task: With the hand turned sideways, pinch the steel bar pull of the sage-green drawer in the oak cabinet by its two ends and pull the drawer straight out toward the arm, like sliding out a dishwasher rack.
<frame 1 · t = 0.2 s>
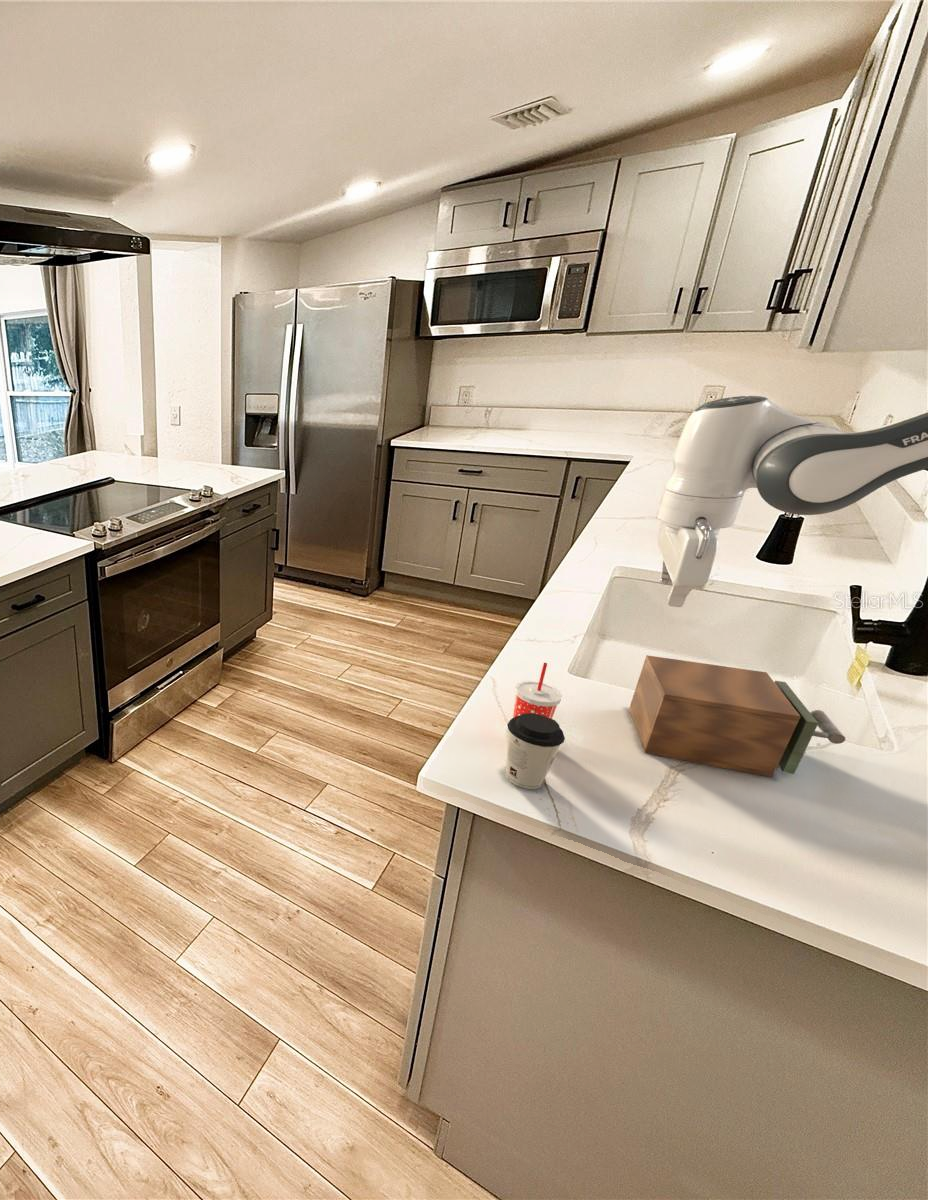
hand: (669, 593, 97), 21 cm above the worktop, tool pointing down, fingers open, 8 cm apart
cabinet: (694, 740, 96), on the worktop
drawer: (748, 719, 91), point 5 cm above the worktop, slide at 1.0 cm
beverage cup: (526, 739, 99), on the worktop
coffee cup: (523, 779, 91), on the worktop
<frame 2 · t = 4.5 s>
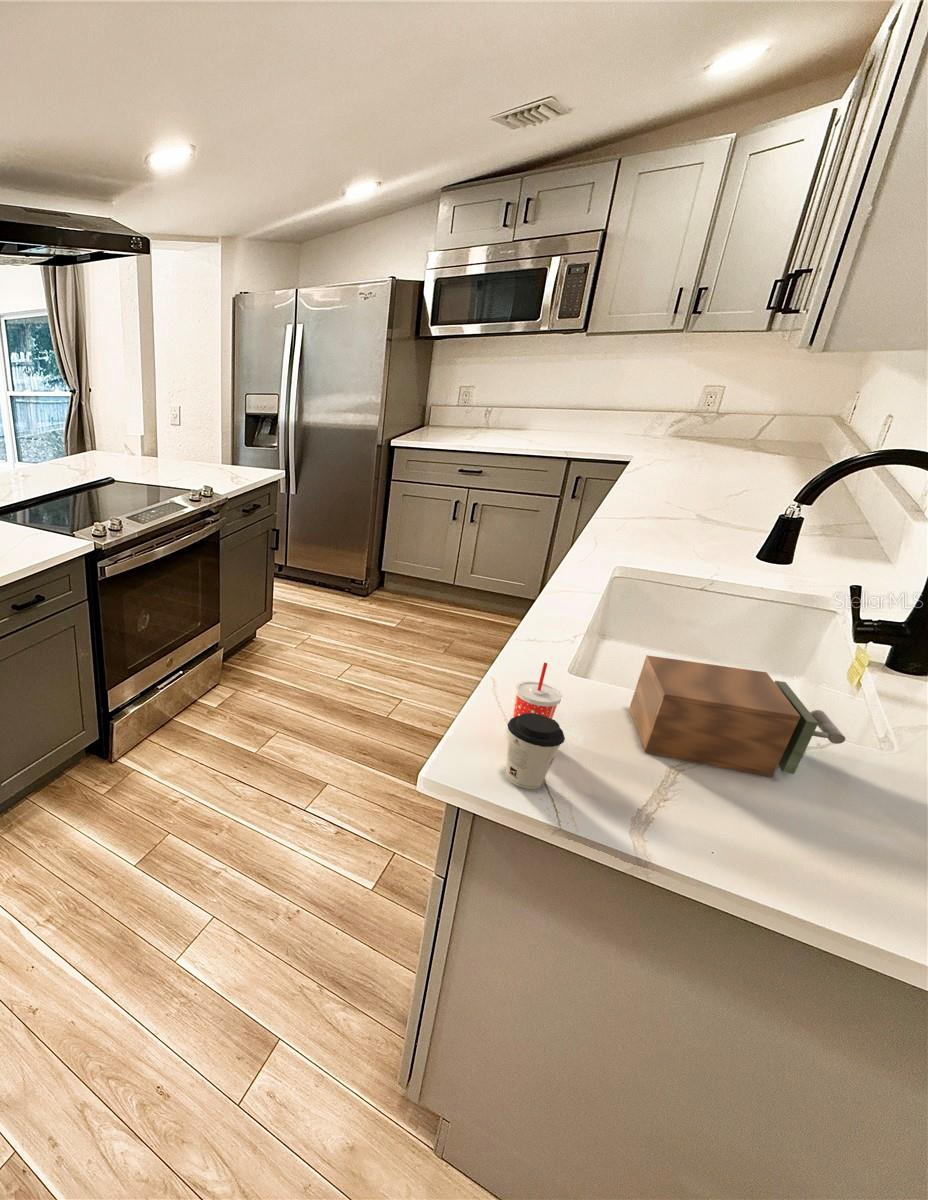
nothing on the worktop moved.
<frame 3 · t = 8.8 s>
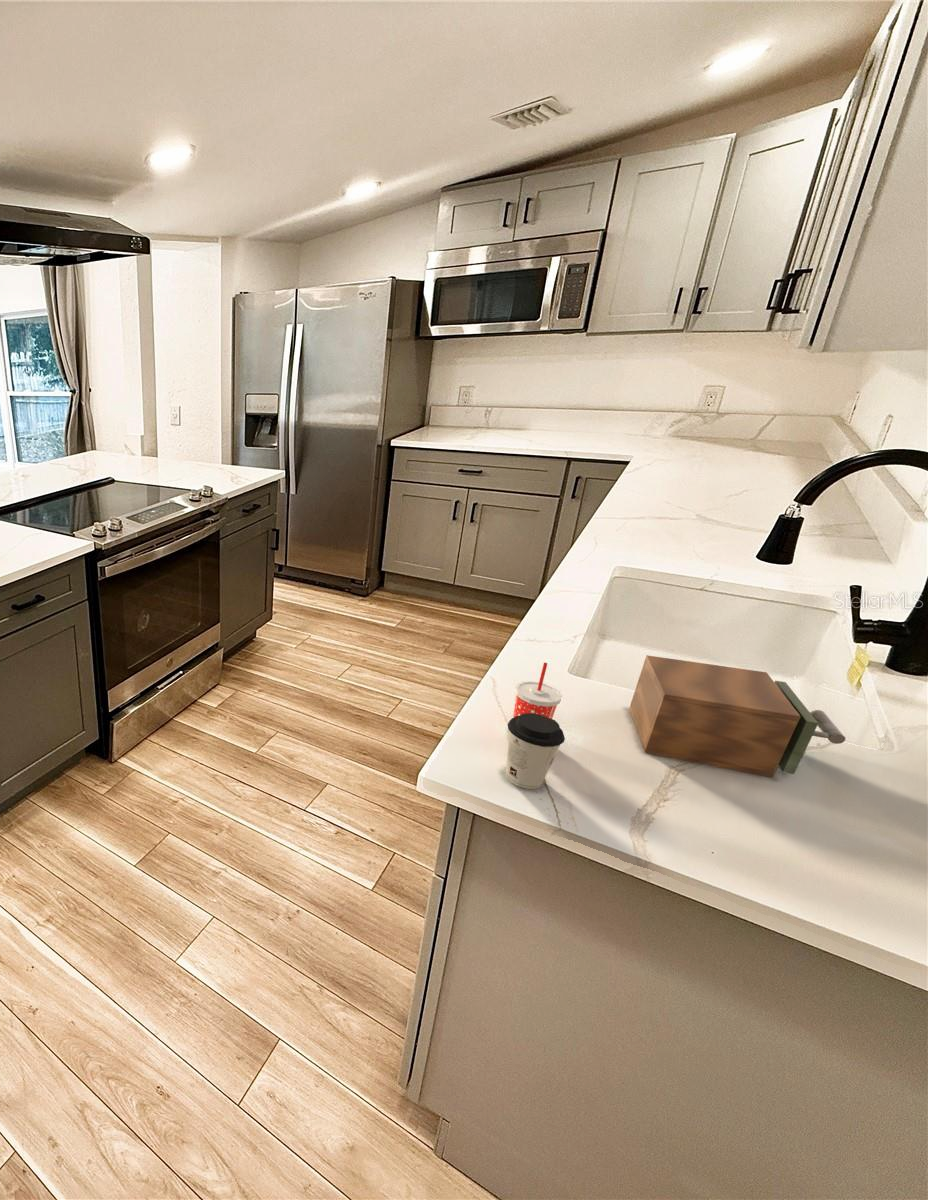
nothing on the worktop moved.
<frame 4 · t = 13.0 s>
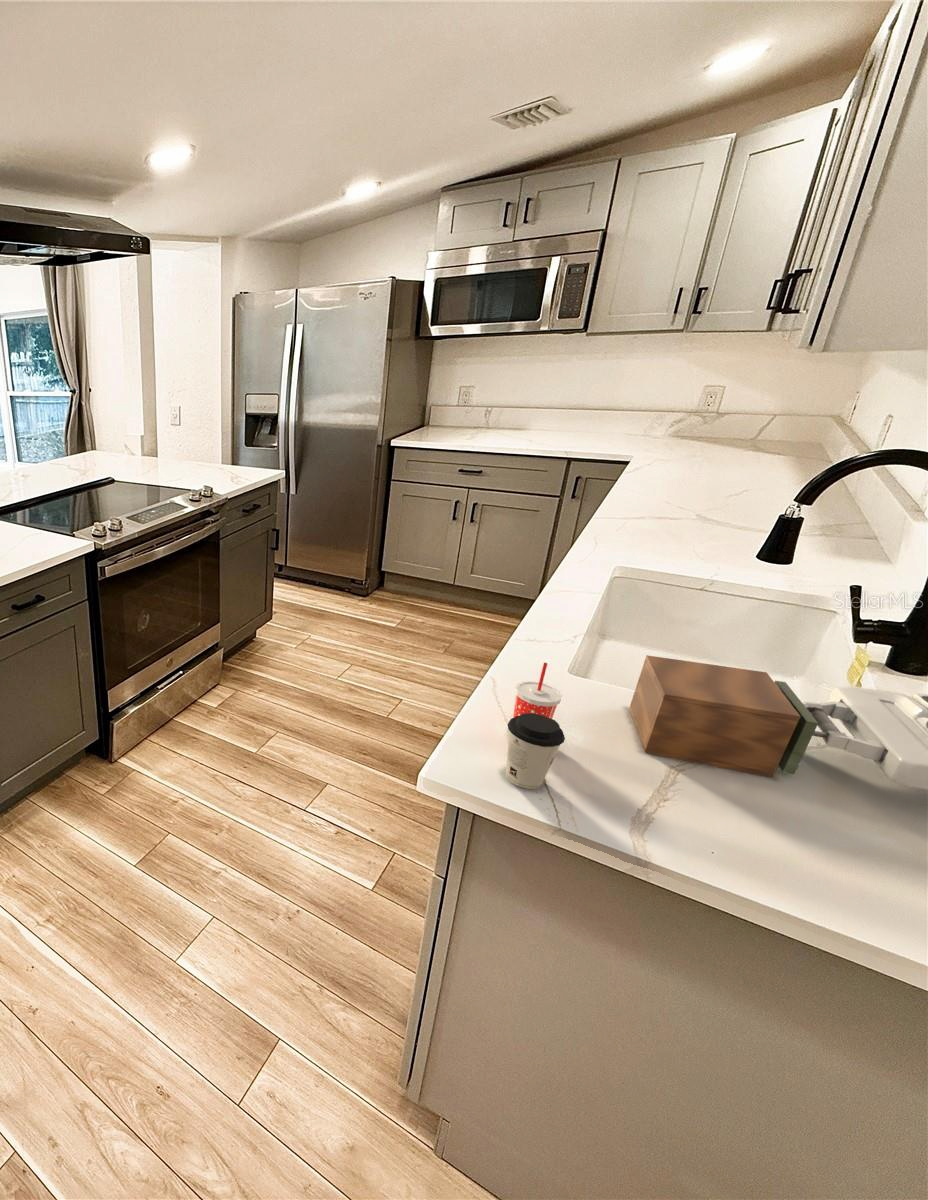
hand: (813, 722, 88), 7 cm above the worktop, tool horizontal, fingers closed on drawer, 6 cm apart
drawer: (748, 719, 91), point 5 cm above the worktop, slide at 1.0 cm, touching gripper
everything else where it was.
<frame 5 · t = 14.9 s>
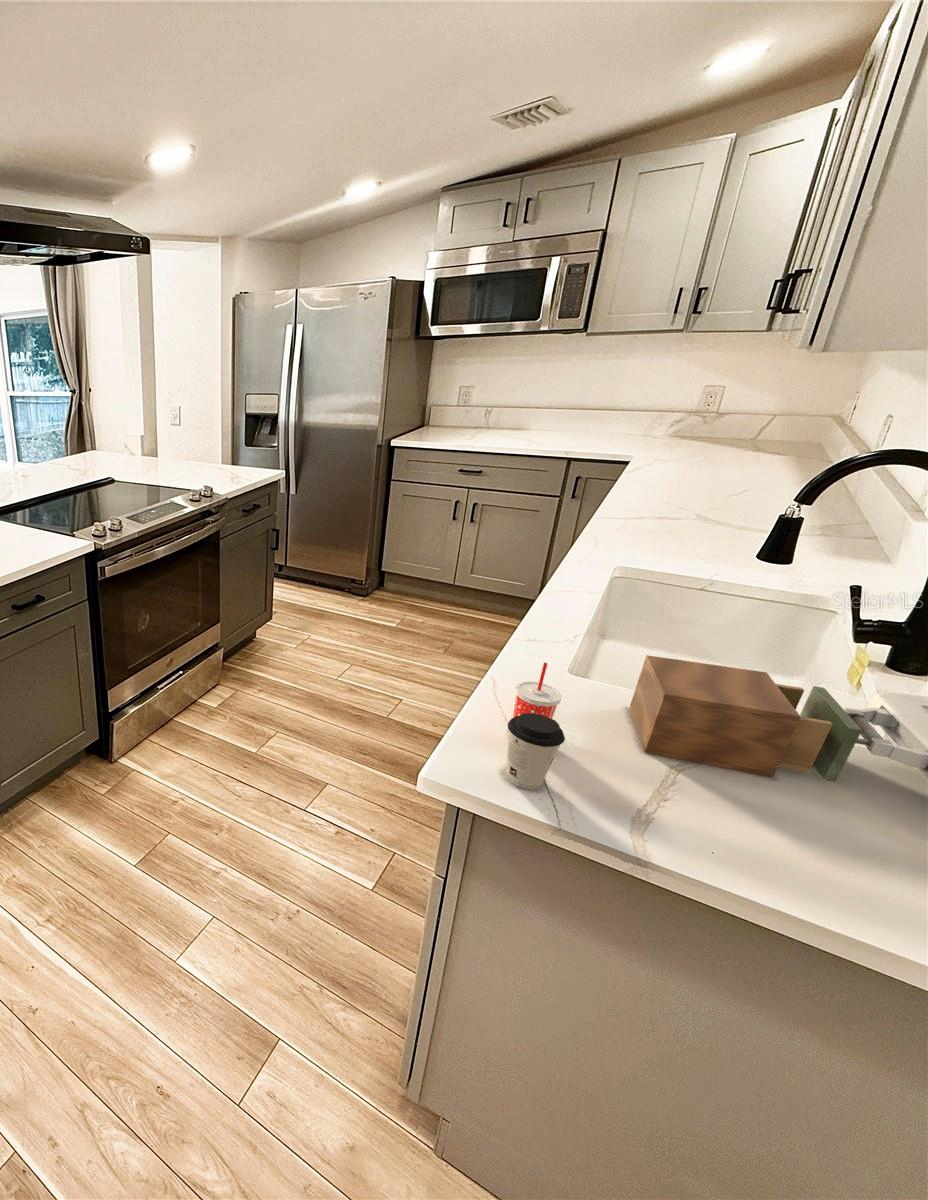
hand: (855, 729, 86), 7 cm above the worktop, tool horizontal, fingers closed on drawer, 6 cm apart
drawer: (786, 726, 90), point 5 cm above the worktop, slide at 5.2 cm, touching gripper
everything else where it was.
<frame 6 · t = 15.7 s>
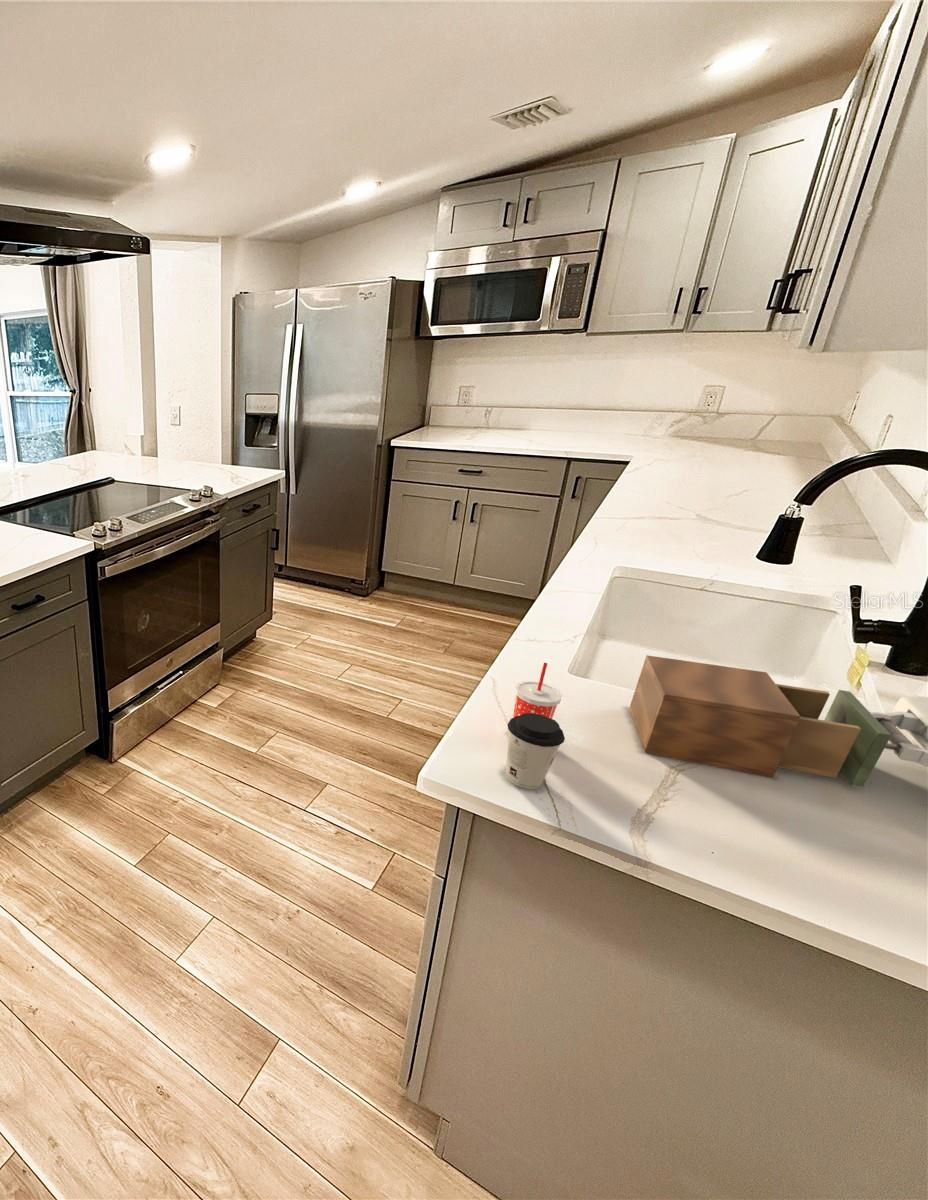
hand: (882, 733, 85), 7 cm above the worktop, tool horizontal, fingers closed on drawer, 6 cm apart
drawer: (812, 730, 88), point 5 cm above the worktop, slide at 7.9 cm, touching gripper
everything else where it was.
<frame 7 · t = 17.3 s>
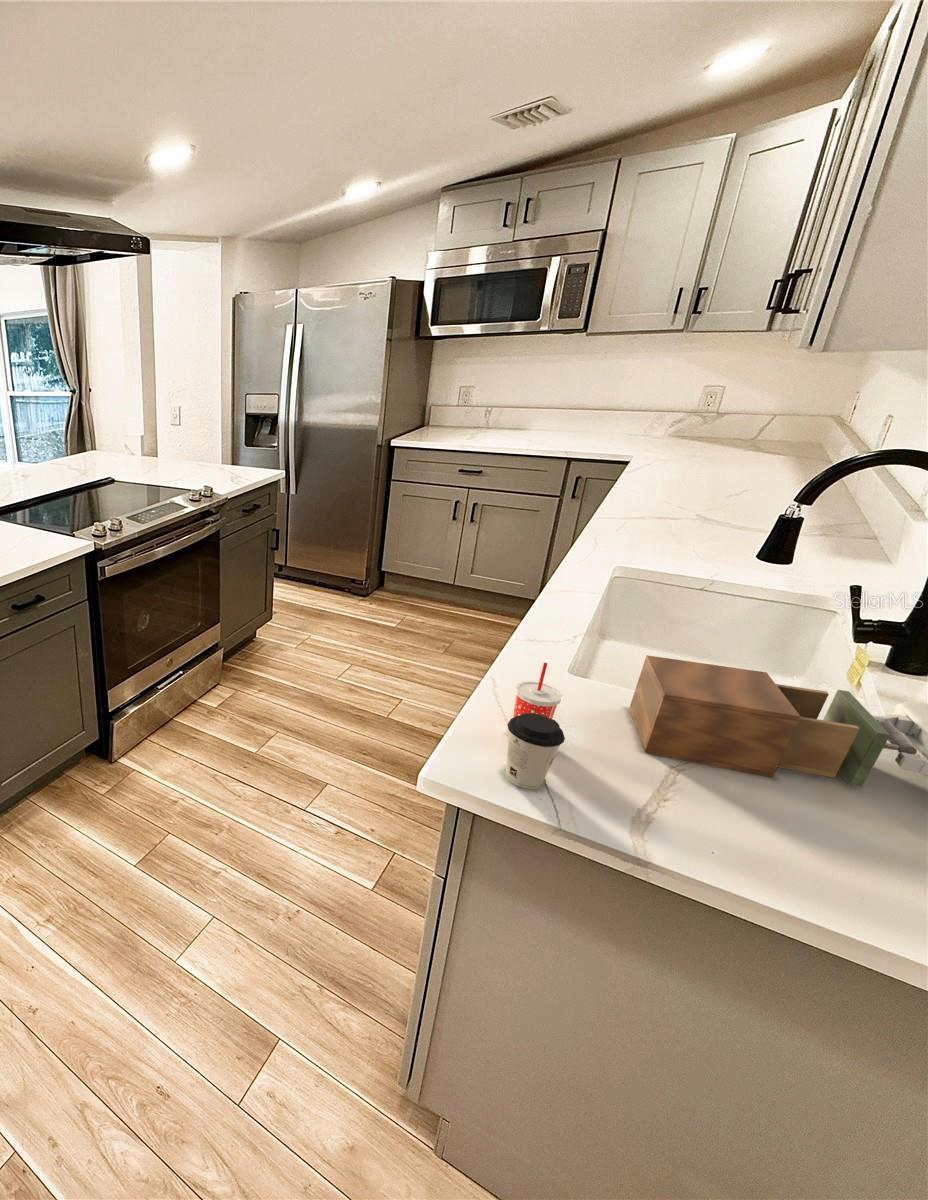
hand: (880, 739, 85), 6 cm above the worktop, tool horizontal, fingers open, 8 cm apart
drawer: (810, 730, 88), point 5 cm above the worktop, slide at 7.8 cm
everything else where it was.
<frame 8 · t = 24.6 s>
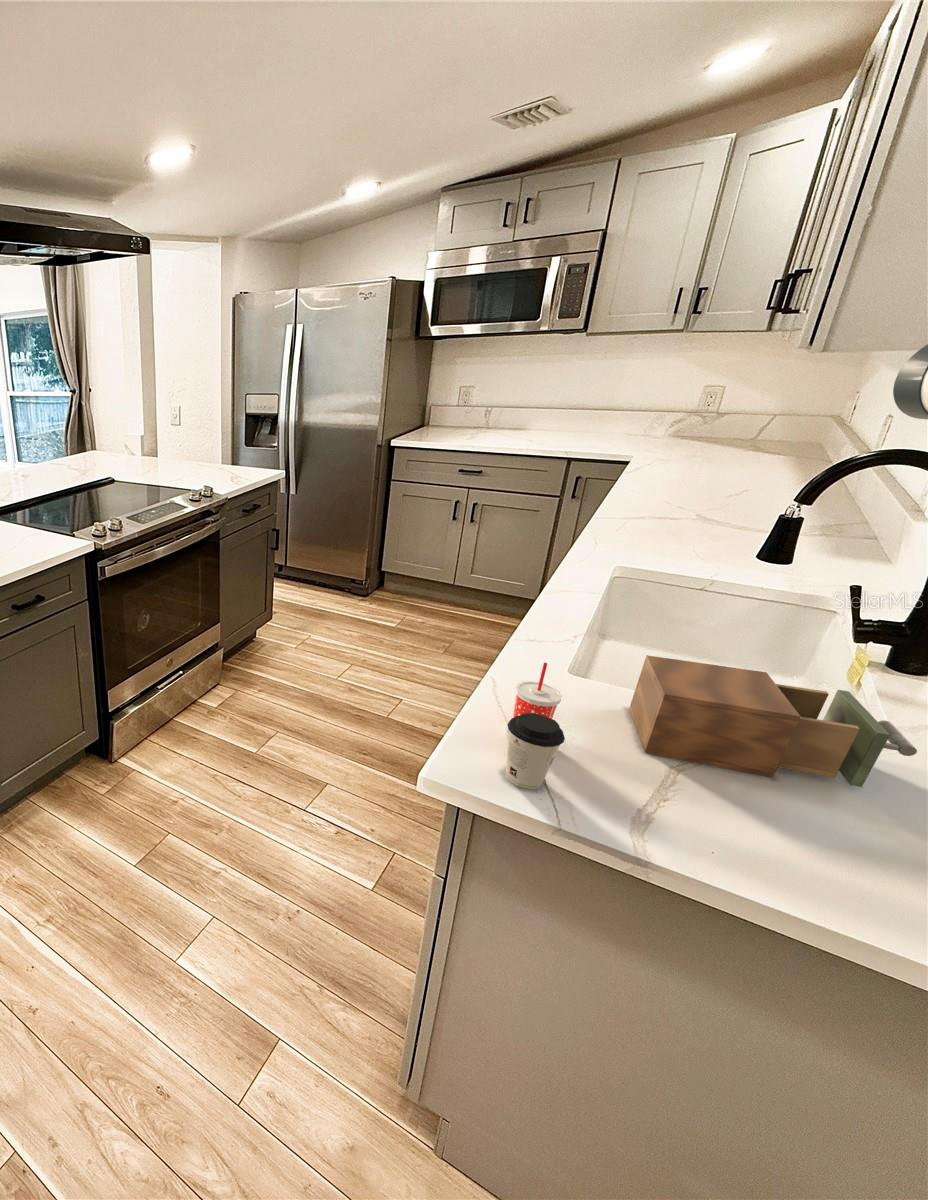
nothing on the worktop moved.
at the end: drawer slide at 7.8 cm; the gripper is holding nothing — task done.
